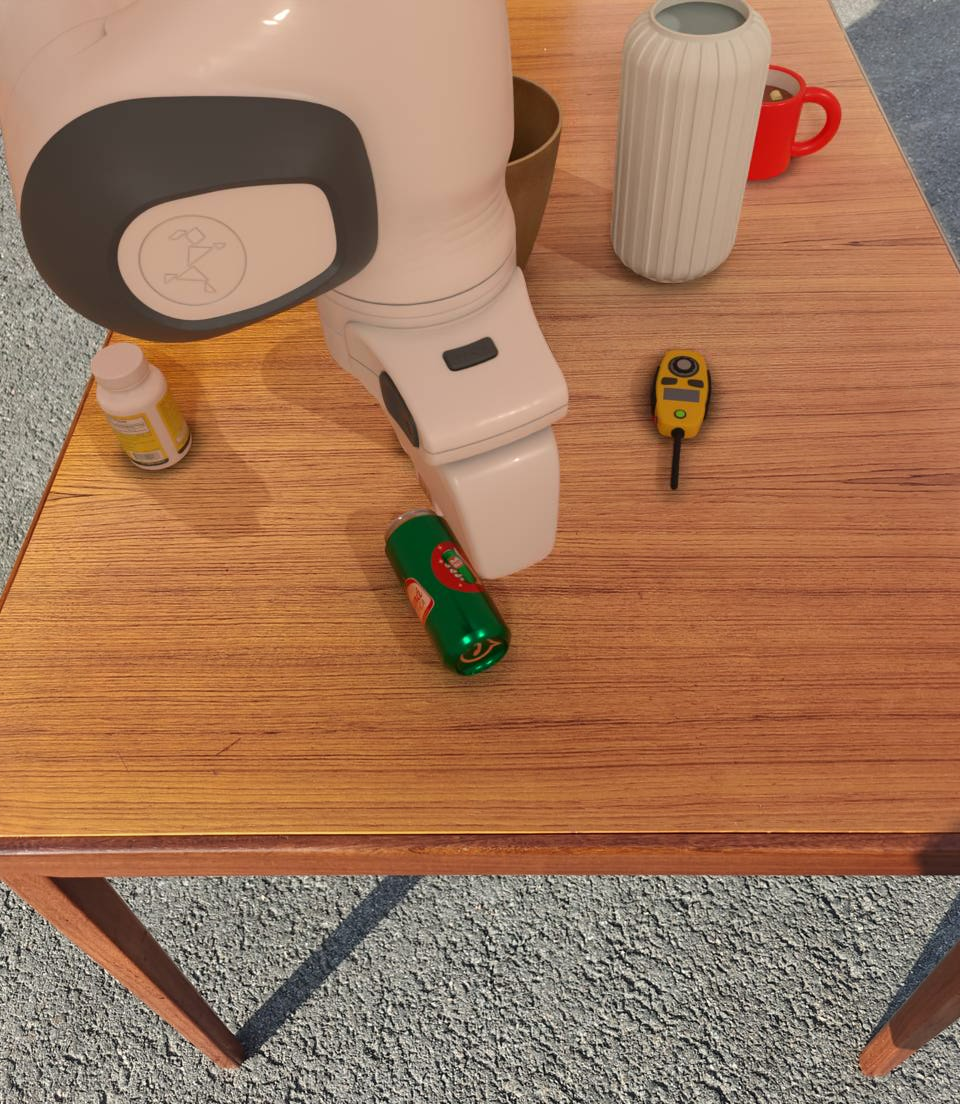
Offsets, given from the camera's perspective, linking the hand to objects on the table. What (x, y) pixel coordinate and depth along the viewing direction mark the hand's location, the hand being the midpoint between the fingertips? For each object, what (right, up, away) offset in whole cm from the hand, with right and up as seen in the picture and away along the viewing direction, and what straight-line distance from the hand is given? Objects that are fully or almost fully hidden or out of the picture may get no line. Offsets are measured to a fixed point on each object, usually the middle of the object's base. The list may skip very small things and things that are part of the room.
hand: (441, 495), depth 52 cm
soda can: (+2, -10, +9) cm, 14 cm away
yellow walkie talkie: (+18, +7, +24) cm, 31 cm away
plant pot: (+2, +23, +36) cm, 43 cm away
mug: (+33, +38, +45) cm, 68 cm away
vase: (+20, +25, +37) cm, 49 cm away
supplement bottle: (-25, +5, +26) cm, 36 cm away
